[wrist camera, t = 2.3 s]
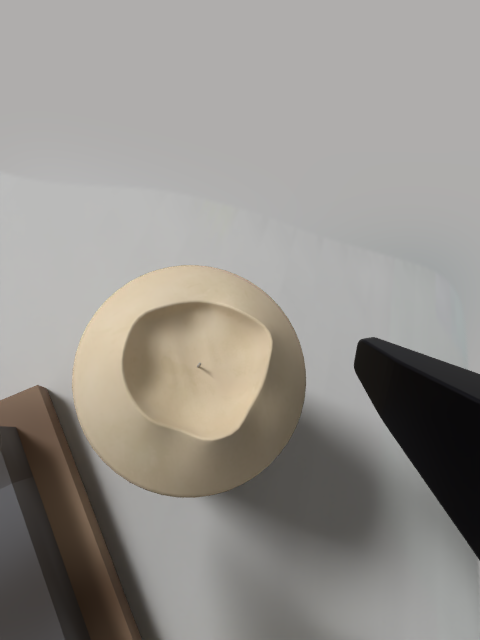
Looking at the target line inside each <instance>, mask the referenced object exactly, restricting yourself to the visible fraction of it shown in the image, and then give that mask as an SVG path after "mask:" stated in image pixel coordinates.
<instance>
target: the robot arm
mask: <svg viewBox="0 0 480 640" xmlns="http://www.w3.org/2000/svg"><path fill="white" fill-rule="evenodd" d="M354 369H355V372H356V374H357V376H358V378H359V380H360V381H361V383H362V385H363V387H364V389H365V391H366V392H367V394H368V396H369V398H370V400H371V401H372V403H373V405H374V407H375V409H376V410H377V412H378V414H379V416H380V417H381V419H382V420H383V422H384V423H385V425H386V426H387V428H388V429H389V431H390V432H391V434H392V435H393V436H394V438H395V439H396V441H397V442H398V444H399V445H400V446H401V448H402V449H403V451H404V452H405V454H406V455H407V457H408V458H409V459H410V461H411V462H412V464H413V465H414V467H415V468H416V469H417V471H418V472H419V474H420V475H421V477H422V478H423V480H424V481H425V482H426V484H427V485H428V487H429V488H430V490H431V491H432V492H433V494H434V495H435V497H436V498H437V500H438V501H439V503H440V504H441V505H442V507H443V508H444V510H445V511H446V513H447V514H448V515H449V517H450V518H451V520H452V521H453V523H454V524H455V526H456V527H457V528H458V530H459V531H460V533H461V534H462V536H463V537H464V538H465V540H466V541H467V543H468V544H469V546H470V547H471V549H472V550H473V551H474V553H475V554H476V556H477V557H478V559H479V560H480V374H478V373H475V372H472V371H469V370H466V369H464V368H461V367H458V366H455V365H452V364H449V363H446V362H444V361H441V360H438V359H435V358H432V357H429V356H427V355H424V354H421V353H418V352H415V351H412V350H410V349H407V348H404V347H401V346H398V345H395V344H392V343H390V342H387V341H384V340H381V339H378V338H375V337H371V338H365V339H361V340H360V341H359V342H358V345H357V350H356V355H355V361H354ZM1 444H2V436H1V432H0V451H1Z"/></svg>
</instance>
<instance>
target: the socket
mask: <svg viewBox="0 0 480 640" xmlns="http://www.w3.org/2000/svg"><path fill="white" fill-rule="evenodd" d="M0 432H1V436H2V444H1V451H0V640H142V639H141V636H140V633H139V631H138V628H137V625H136V623H135V620H134V618H133V615H132V612H131V610H130V607H129V604H128V602H127V599H126V596H125V594H124V591H123V588H122V586H121V583H120V581H119V578H118V575H117V573H116V570H115V567H114V565H113V562H112V559H111V557H110V554H109V551H108V549H107V546H106V543H105V541H104V538H103V536H102V533H101V530H100V528H99V525H98V522H97V520H96V517H95V514H94V512H93V509H92V506H91V504H90V501H89V499H88V496H87V493H86V491H85V488H84V485H83V483H82V480H81V477H80V475H79V472H78V469H77V467H76V464H75V462H74V459H73V456H72V454H71V451H70V448H69V446H68V443H67V440H66V438H65V435H64V432H63V430H62V427H61V424H60V422H59V419H58V417H57V414H56V411H55V409H54V406H53V403H52V401H51V398H50V395H49V393H48V390H47V388H44V387H42V386H39V385H36V386H34V387H32V388H29V389H27V390H24V391H22V392H20V393H17V394H15V395H12V396H10V397H8V398H5V399H3V400H0Z"/></svg>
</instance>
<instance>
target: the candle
mask: <svg viewBox="0 0 480 640" xmlns="http://www.w3.org/2000/svg"><path fill="white" fill-rule="evenodd" d="M72 389H73V399H74V405H75V409H76V413H77V417H78V420H79V423H80V425H81V427H82V430H83V432H84V434H85V436H86V438H87V440H88V441H89V443H90V445H91V446H92V448H93V449H94V451H95V452H96V453H97V454H98V455H99V457H100V458H101V459H102V460H103V462H105V463H106V464H107V465H108V466H109V467H110V468H111V469H112V470H113V471H114V472H116V473H117V474H118V475H120V476H121V477H123V478H124V479H126V480H127V481H129V482H130V483H132V484H134V485H136V486H139V487H141V488H143V489H145V490H148V491H151V492H154V493H158V494H161V495H166V496H173V497H203V496H210V495H214V494H218V493H222V492H225V491H228V490H231V489H233V488H235V487H237V486H240V485H242V484H244V483H245V482H247V481H249V480H250V479H252V478H254V477H255V476H257V475H258V474H259V473H260V472H262V471H263V470H264V469H265V468H267V467H268V466H269V465H270V464H271V463H272V462H273V461H274V460H275V458H276V457H277V456H278V455H279V454H280V453H281V451H282V450H283V449H284V447H285V446H286V444H287V443H288V442H289V440H290V438H291V436H292V434H293V432H294V430H295V428H296V426H297V423H298V421H299V418H300V415H301V412H302V407H303V403H304V398H305V389H306V370H305V363H304V357H303V353H302V349H301V346H300V342H299V340H298V337H297V335H296V333H295V330H294V328H293V327H292V325H291V323H290V321H289V319H288V318H287V316H286V315H285V314H284V312H283V311H282V310H281V308H280V307H279V306H278V305H277V304H276V303H275V301H274V300H273V299H272V298H271V297H270V296H269V295H267V294H266V293H265V292H264V291H263V290H261V289H260V288H259V287H257V286H256V285H254V284H253V283H251V282H250V281H248V280H246V279H244V278H242V277H240V276H238V275H236V274H233V273H230V272H228V271H225V270H221V269H217V268H213V267H207V266H198V265H182V266H174V267H167V268H163V269H159V270H155V271H153V272H150V273H147V274H145V275H142V276H140V277H138V278H136V279H134V280H133V281H131V282H129V283H127V284H126V285H124V286H123V287H122V288H120V289H119V290H117V291H116V292H115V293H114V294H113V295H112V296H111V297H109V298H108V299H107V300H106V301H105V302H104V303H103V305H102V306H101V307H100V308H99V309H98V310H97V312H96V313H95V314H94V316H93V317H92V319H91V320H90V322H89V324H88V325H87V327H86V329H85V331H84V333H83V335H82V337H81V340H80V343H79V346H78V349H77V352H76V355H75V361H74V367H73V379H72Z"/></svg>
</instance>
